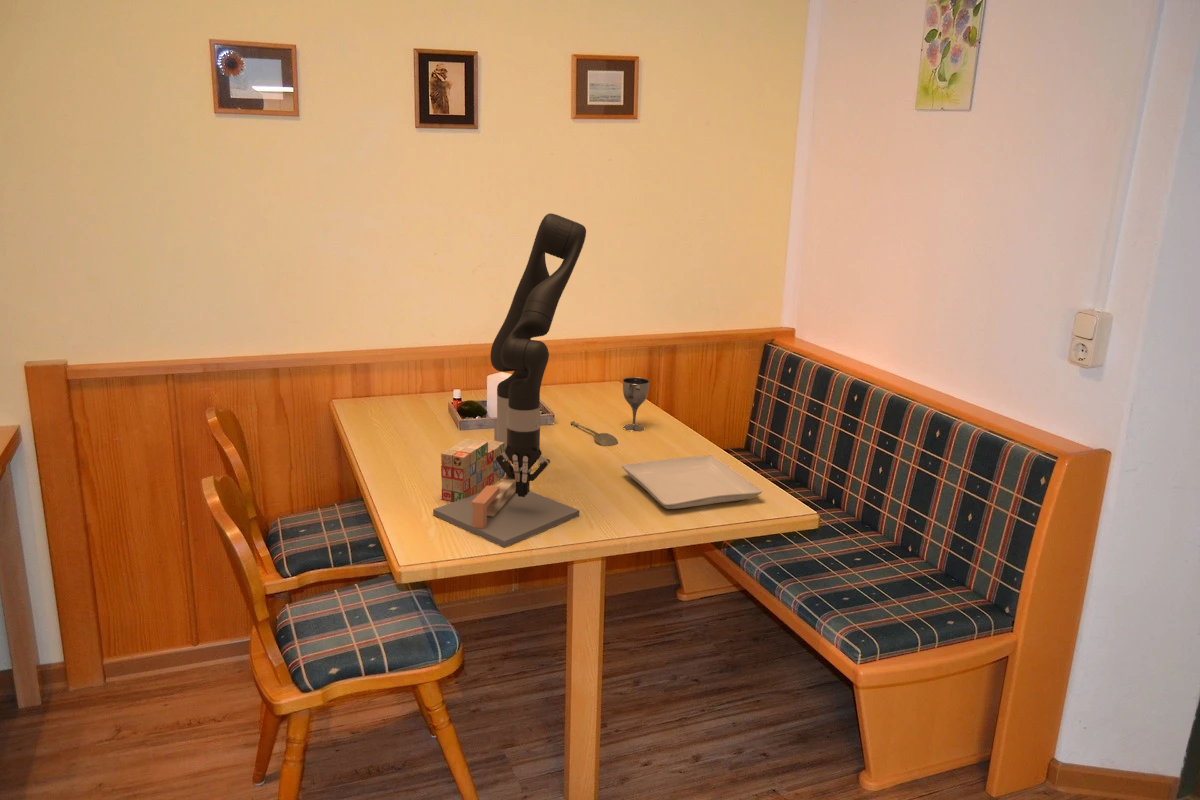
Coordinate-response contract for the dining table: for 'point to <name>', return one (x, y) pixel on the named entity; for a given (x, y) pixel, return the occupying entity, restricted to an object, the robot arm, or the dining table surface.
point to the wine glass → (635, 397)
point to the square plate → (691, 481)
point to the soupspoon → (600, 436)
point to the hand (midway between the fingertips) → (522, 495)
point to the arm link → (502, 495)
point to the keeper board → (506, 515)
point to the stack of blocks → (470, 468)
